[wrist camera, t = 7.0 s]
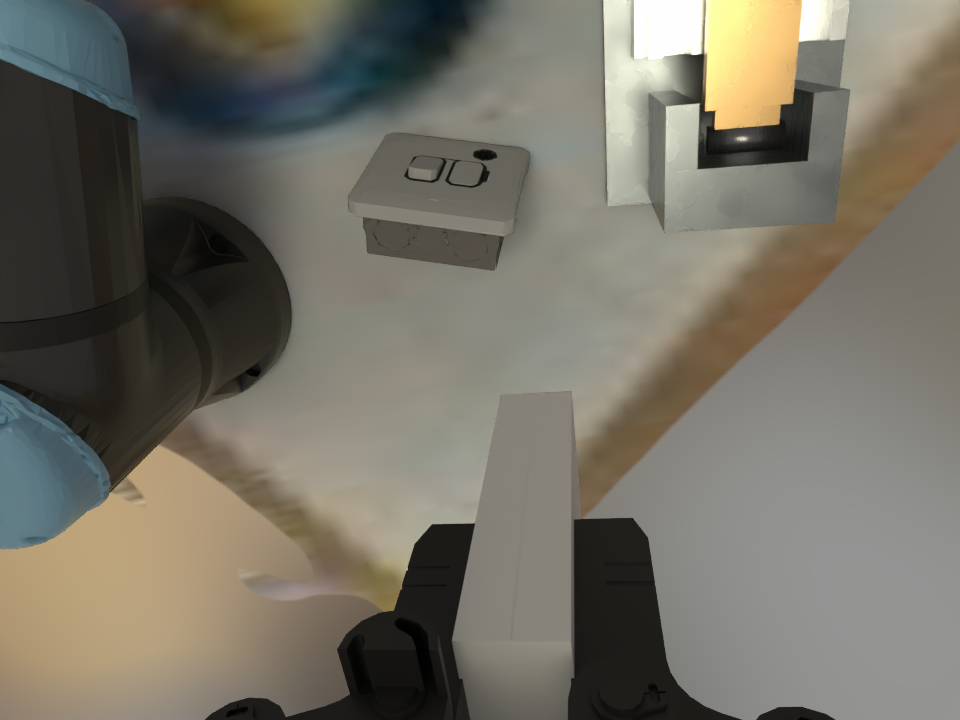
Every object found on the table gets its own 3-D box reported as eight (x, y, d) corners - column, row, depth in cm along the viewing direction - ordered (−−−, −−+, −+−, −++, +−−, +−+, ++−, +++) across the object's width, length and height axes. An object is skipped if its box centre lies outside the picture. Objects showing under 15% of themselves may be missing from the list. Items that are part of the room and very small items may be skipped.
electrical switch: (532, 147, 43) (518, 191, 35) (522, 225, 46) (507, 282, 38) (388, 129, 44) (342, 168, 36) (387, 207, 46) (344, 259, 39)
